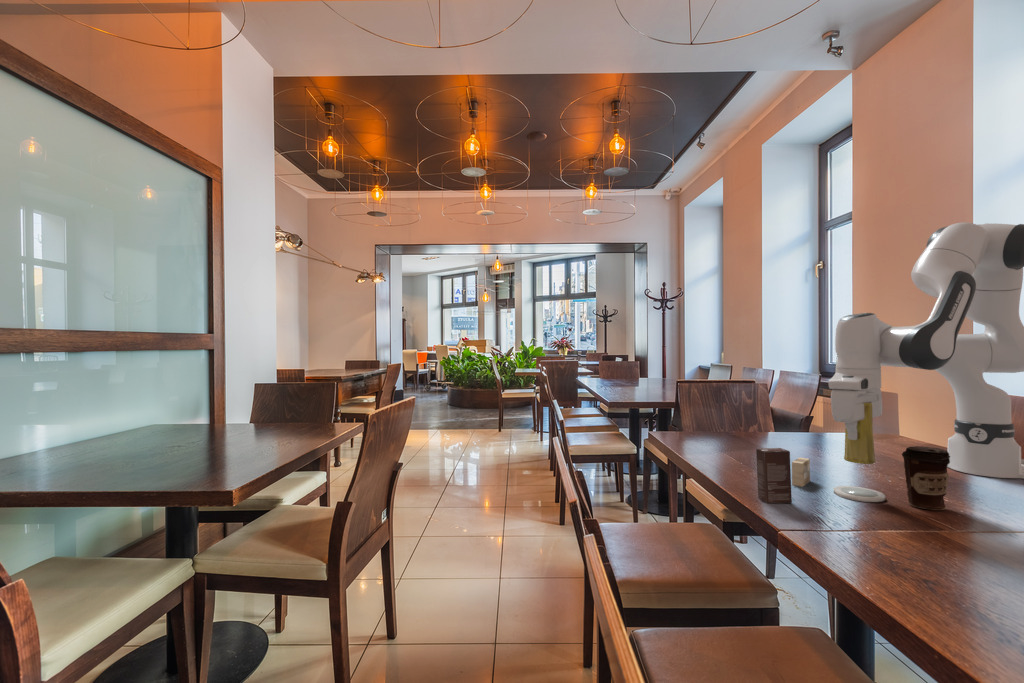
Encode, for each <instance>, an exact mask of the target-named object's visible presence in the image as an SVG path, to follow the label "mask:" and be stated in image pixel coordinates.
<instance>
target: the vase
mask: <svg viewBox="0 0 1024 683" xmlns="http://www.w3.org/2000/svg"><path fill="white" fill-rule="evenodd" d="M864 412H865V418H864V420H860V421H858V425H857V432H859V439H857V440H850V439H848V432H847V429H846V426H845V432H844V433H845V434H844V455H843V460H844V461H846V462H849V463H854V464H861V465H864V464H865V465H873V464H875V463H876V458H875V442H874V429H873V428H874V427H873V425H874V424H873V421H874V420H873V418H874V417H873V416H872V402H870V403H864Z"/></svg>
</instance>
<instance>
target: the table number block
mask: <svg viewBox="0 0 1024 683" xmlns="http://www.w3.org/2000/svg"><path fill="white" fill-rule="evenodd" d="M810 463H811V460H810V458H805V457H800V456H799V457H797V458H796V459H795V460H793V461H792V462H791V486H796V487H801V488H803V487H804V486H806V485H807V484H808V483H810V482H811V464H810Z"/></svg>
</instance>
